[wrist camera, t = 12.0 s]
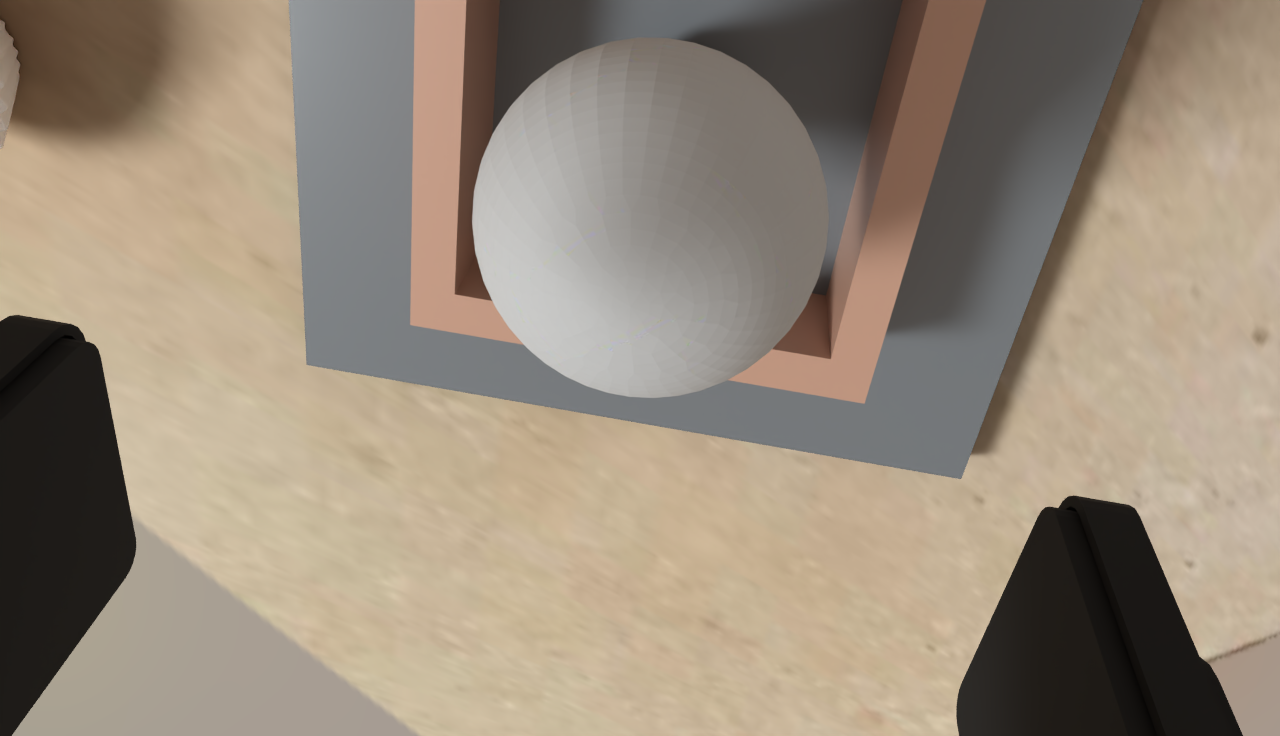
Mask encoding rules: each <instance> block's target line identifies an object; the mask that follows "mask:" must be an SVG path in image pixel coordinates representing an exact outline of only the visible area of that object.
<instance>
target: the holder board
mask: <svg viewBox="0 0 1280 736" xmlns="http://www.w3.org/2000/svg"><path fill="white" fill-rule="evenodd" d="M1142 2H1143V0H289V14H290V35H291V55H292V75H293V96H294V116H295V136H296V156H297V177H298V197H299V217H300V238H301V258H302V278H303V299H304V319H305V339H306V360H307V365H311V366H316V367H322V368H328V369H334V370H339V371H345V372H351V373H356V374H362V375H368V376H374V377H379V378H385V379H391V380H397V381H402V382H408V383H414V384H419V385H425V386H431V387H437V388H442V389H448V390H454V391H460V392H465V393H471V394H477V395H482V396H488V397H494V398H500V399H505V400H511V401H517V402H523V403H528V404H534V405H540V406H545V407H551V408H557V409H563V410H568V411H574V412H580V413H586V414H591V415H597V416H603V417H608V418H614V419H620V420H626V421H631V422H637V423H643V424H649V425H654V426H660V427H666V428H671V429H677V430H683V431H689V432H694V433H700V434H706V435H712V436H717V437H723V438H729V439H734V440H740V441H746V442H752V443H757V444H763V445H769V446H775V447H780V448H786V449H792V450H797V451H803V452H809V453H815V454H820V455H826V456H832V457H838V458H843V459H849V460H855V461H860V462H866V463H872V464H878V465H883V466H889V467H895V468H901V469H906V470H912V471H918V472H923V473H929V474H935V475H941V476H946V477H952V478H958V479H961V478H962V475H963V473H964V470H965V467H966V465H967V462H968V460H969V457H970V454H971V452H972V449H973V446H974V444H975V441H976V439H977V436H978V433H979V431H980V428H981V425H982V423H983V420H984V417H985V415H986V412H987V410H988V407H989V404H990V402H991V399H992V396H993V394H994V391H995V389H996V386H997V383H998V381H999V378H1000V375H1001V373H1002V370H1003V368H1004V365H1005V362H1006V360H1007V357H1008V354H1009V352H1010V349H1011V347H1012V344H1013V341H1014V339H1015V336H1016V333H1017V331H1018V328H1019V326H1020V323H1021V320H1022V318H1023V315H1024V312H1025V310H1026V307H1027V305H1028V302H1029V299H1030V297H1031V294H1032V291H1033V289H1034V286H1035V283H1036V281H1037V278H1038V276H1039V273H1040V270H1041V268H1042V265H1043V262H1044V260H1045V257H1046V255H1047V252H1048V249H1049V247H1050V244H1051V241H1052V239H1053V236H1054V234H1055V231H1056V228H1057V226H1058V223H1059V220H1060V218H1061V215H1062V213H1063V210H1064V207H1065V205H1066V202H1067V199H1068V197H1069V194H1070V192H1071V189H1072V186H1073V184H1074V181H1075V178H1076V176H1077V173H1078V171H1079V168H1080V165H1081V163H1082V160H1083V157H1084V155H1085V152H1086V149H1087V147H1088V144H1089V142H1090V139H1091V136H1092V134H1093V131H1094V128H1095V126H1096V123H1097V121H1098V118H1099V115H1100V113H1101V110H1102V107H1103V105H1104V102H1105V100H1106V97H1107V94H1108V92H1109V89H1110V86H1111V84H1112V81H1113V79H1114V76H1115V73H1116V71H1117V68H1118V65H1119V63H1120V60H1121V58H1122V55H1123V52H1124V50H1125V47H1126V44H1127V42H1128V39H1129V37H1130V34H1131V31H1132V29H1133V26H1134V23H1135V21H1136V18H1137V15H1138V13H1139V10H1140V8H1141V5H1142ZM633 38H670V39H676V40H681V41H687V42H693V43H697V44H700V45H703V46H705V47H708V48H711V49H714V50H717V51H720V52H722V53H724V54H726V55H728V56H730V57H732V58H734V59H736V60H737V61H739V62H741V63H743V64H745V65H747V66H748V67H749V68H751V69H752V70H753V71H755V72H756V73H757V74H759V75H760V76H761V77H762V78H764V79H765V80H766V81H768V82H769V83H770V84H771V85H772V86H773V87H774V88H775V90H776V91H777V92H778V93H779V94H780V95H781V96H782V97H783V98H784V99H785V100H786V101H787V102H788V103H789V104H790V106H791V107H792V109H793V110H794V112H795V113H796V115H797V116H798V118H799V119H800V121H801V122H802V124H803V125H804V126H805V128H806V130H807V133H808V135H809V137H810V139H811V141H812V143H813V146H814V148H815V150H816V152H817V154H818V157H819V161H820V165H821V168H822V172H823V176H824V180H825V184H826V190H827V201H828V212H829V222H828V234H827V245H826V251H825V255H824V259H823V263H822V266H821V270H820V274H819V277H818V280H817V283H816V285H815V287H814V289H813V291H812V294H811V296H810V298H809V300H808V302H807V305H806V306H805V308H804V310H803V311H802V313H801V314H800V316H799V317H798V318H797V320H796V321H795V323H794V324H793V326H792V327H791V329H790V330H789V331H788V332H787V334H786V335H785V336H784V337H783V338H782V339H781V340H780V341H779V342H778V343H777V344H776V345H775V346H774V347H773V349H772V350H771V351H770V352H769V353H767V354H766V355H765V356H763V357H762V358H761V359H760V360H758V361H757V362H756V363H754V364H753V365H752V366H750V367H749V368H748V369H746V370H745V371H743V372H741V373H739V374H737V375H736V376H734V377H732V378H730V379H728V380H727V381H725V382H722V383H719V384H717V385H714V386H712V387H709V388H706V389H704V390H701V391H697V392H693V393H688V394H684V395H680V396H671V397H660V398H643V397H628V396H622V395H617V394H611V393H607V392H603V391H600V390H597V389H594V388H591V387H587V386H585V385H583V384H581V383H579V382H576V381H574V380H572V379H570V378H568V377H566V376H564V375H562V374H561V373H559V372H558V371H556V370H555V369H553V368H551V367H550V366H548V365H547V364H545V363H544V362H543V361H542V360H540V359H539V358H538V357H537V356H536V355H534V354H533V353H532V352H531V351H530V350H529V349H527V348H526V346H525V345H524V344H523V343H522V342H521V341H520V340H519V339H518V337H517V336H516V335H515V334H514V333H513V332H512V331H511V330H510V328H509V327H508V326H507V324H506V323H505V321H504V320H503V318H502V316H501V315H500V313H499V312H498V310H497V309H496V307H495V305H494V303H493V301H492V299H491V297H490V295H489V292H488V290H487V288H486V286H485V284H484V282H483V278H482V274H481V271H480V267H479V264H478V260H477V257H476V253H475V245H474V236H473V226H472V215H473V198H474V189H475V185H476V181H477V176H478V172H479V168H480V164H481V160H482V158H483V155H484V153H485V151H486V148H487V146H488V144H489V141H490V139H491V137H492V134H493V133H494V131H495V129H496V127H497V126H498V124H499V123H500V121H501V120H502V118H503V117H504V115H505V114H506V112H507V111H508V109H509V107H510V106H511V105H512V104H513V103H514V102H515V101H516V99H517V98H518V97H519V96H520V95H521V94H522V93H523V92H524V91H525V90H526V89H527V88H528V87H529V86H530V85H531V83H533V82H534V81H535V80H537V79H538V78H539V77H541V76H542V75H543V74H545V73H546V72H547V71H549V70H550V69H551V68H553V67H554V66H555V65H556V64H558V63H560V62H562V61H564V60H566V59H568V58H570V57H572V56H574V55H576V54H578V53H579V52H581V51H584V50H587V49H590V48H593V47H596V46H599V45H602V44H605V43H609V42H613V41H619V40H626V39H633Z"/></svg>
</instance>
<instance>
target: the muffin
mask: <svg viewBox="0 0 1280 736" xmlns="http://www.w3.org/2000/svg"><path fill="white" fill-rule="evenodd" d="M13 40H14V39H13V37H12V36H10V35H9V34H8V33H7V31H6V29H5V22H3V21H2V20H0V149H1V148H2V147H3V146H4V141H5V136H6V132H7V129H8V126H9V123H10V117H11V114H12V109H13V105H14V101H15V96H16V91H17V87H18V83H19V78H20V76H19V73H18V71H19V68H20V63H19V61H18V60H17V59H16V57H17V54H18V50H16V49H15V48H14V46H13Z"/></svg>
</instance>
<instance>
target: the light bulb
mask: <svg viewBox="0 0 1280 736" xmlns="http://www.w3.org/2000/svg"><path fill="white" fill-rule="evenodd" d="M828 222H829V212H828V201H827V190H826V184H825V180H824V176H823V172H822V168H821V165H820V161H819V157H818V154H817V152H816V150H815V148H814V146H813V143H812V141H811V139H810V137H809V135H808V133H807V130H806V128H805V126H804V125H803V124H802V122H801V121H800V119H799V118H798V116H797V115H796V113H795V112H794V110H793V109H792V107H791V106H790V104H789V103H788V102H787V101H786V100H785V99H784V98H783V97H782V96H781V95H780V94H779V93H778V92H777V91H776V90H775V88H774V87H773V86H772V85H771V84H770V83H769V82H768V81H766V80H765V79H764V78H762V77H761V76H760V75H759V74H757V73H756V72H755V71H753V70H752V69H751V68H749V67H748V66H747V65H745V64H743V63H741V62H739V61H737V60H736V59H734V58H732V57H730V56H728V55H726V54H724V53H722V52H720V51H717V50H714V49H711V48H708V47H705V46H703V45H700V44H697V43H693V42H687V41H681V40H676V39H670V38H633V39H626V40H619V41H613V42H609V43H605V44H602V45H599V46H596V47H593V48H590V49H587V50H584V51H581V52H579V53H578V54H576V55H574V56H572V57H570V58H568V59H566V60H564V61H562V62H560V63H558V64H556V65H555V66H554V67H553V68H551V69H550V70H549V71H547V72H546V73H545V74H543V75H542V76H541V77H539V78H538V79H537V80H535V81H534V82H533V83H531V85H530V86H529V87H528V88H527V89H526V90H525V91H524V92H523V93H522V94H521V95H520V96H519V97H518V98H517V99H516V101H515V102H514V103H513V104H512V105H511V106H510V107H509V109H508V111H507V112H506V114H505V115H504V117H503V118H502V120H501V121H500V123H499V124H498V126H497V127H496V129H495V131H494V133H493V134H492V137H491V139H490V141H489V144H488V146H487V148H486V151H485V153H484V155H483V158H482V160H481V164H480V168H479V172H478V176H477V181H476V185H475V189H474V198H473V215H472V226H473V236H474V245H475V253H476V257H477V260H478V264H479V267H480V271H481V274H482V278H483V282H484V284H485V286H486V288H487V290H488V292H489V295H490V297H491V299H492V301H493V303H494V305H495V307H496V309H497V310H498V312H499V313H500V315H501V316H502V318H503V320H504V321H505V323H506V324H507V326H508V327H509V328H510V330H511V331H512V332H513V333H514V334H515V335H516V336H517V337H518V339H519V340H520V341H521V342H522V343H523V344H524V345H525V346H526V348H527V349H529V350H530V351H531V352H532V353H533V354H534V355H536V356H537V357H538V358H539V359H540V360H542V361H543V362H544V363H545V364H547V365H548V366H550V367H551V368H553V369H555V370H556V371H558V372H559V373H561V374H562V375H564V376H566V377H568V378H570V379H572V380H574V381H576V382H579V383H581V384H583V385H585V386H587V387H591V388H594V389H597V390H600V391H603V392H607V393H611V394H617V395H622V396H628V397H643V398H660V397H671V396H680V395H684V394H688V393H693V392H697V391H701V390H704V389H706V388H709V387H712V386H714V385H717V384H719V383H722V382H725V381H727V380H728V379H730V378H732V377H734V376H736V375H737V374H739V373H741V372H743V371H745V370H746V369H748V368H749V367H750V366H752V365H753V364H754V363H756V362H757V361H758V360H760V359H761V358H762V357H763V356H765V355H766V354H767V353H769V352H770V351H771V350H772V349H773V347H774V346H775V345H776V344H777V343H778V342H779V341H780V340H781V339H782V338H783V337H784V336H785V335H786V334H787V332H788V331H789V330H790V329H791V327H792V326H793V324H794V323H795V321H796V320H797V318H798V317H799V316H800V314H801V313H802V311H803V310H804V308H805V306H806V305H807V302H808V300H809V298H810V296H811V294H812V291H813V289H814V287H815V285H816V283H817V280H818V277H819V274H820V270H821V266H822V263H823V259H824V255H825V251H826V245H827V234H828Z"/></svg>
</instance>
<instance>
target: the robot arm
mask: <svg viewBox="0 0 1280 736" xmlns="http://www.w3.org/2000/svg"><path fill="white" fill-rule="evenodd" d="M135 552H136V537H135V532H134V528H133V522H132V516H131V511H130V506H129V501H128V496H127V491H126V486H125V480H124V475H123V470H122V465H121V460H120V455H119V450H118V444H117V439H116V434H115V429H114V424H113V419H112V414H111V408H110V403H109V398H108V393H107V388H106V383H105V377H104V372H103V367H102V362H101V357H100V354H99V351H98V349H97V347H96V346H95V345H94V344H92V343H90V342H86V341H85V338H84V335H83V333H82V332H81V331H80V329H79V328H78V327H76V326H74V325H72V324H67V323H61V322H56V321H50V320H44V319H38V318H32V317H26V316H20V315H14V316H9V317H7V318H5V319H3V320H2V321H0V736H12V734H13V733H14V731H15V730H16V729H17V727H18V726H19V724H20V723H21V722H22V720H23V719H24V718H25V716H26V715H27V713H28V712H29V711H30V709H31V708H32V707H33V705H34V704H35V702H36V701H37V700H38V698H39V697H40V695H41V694H42V693H43V691H44V690H45V689H46V687H47V686H48V684H49V683H50V682H51V680H52V679H53V677H54V676H55V675H56V673H57V672H58V671H59V669H60V668H61V666H62V665H63V664H64V662H65V661H66V660H67V658H68V657H69V655H70V654H71V653H72V651H73V650H74V648H75V647H76V645H77V644H78V643H79V641H80V640H81V638H82V637H83V636H84V635H85V633H86V632H87V630H88V629H89V628H90V626H91V625H92V623H93V622H94V621H95V619H96V618H97V616H98V615H99V614H100V612H101V611H102V610H103V608H104V607H105V606H106V604H107V603H108V601H109V600H110V599H111V597H112V596H113V594H114V593H115V592H116V590H117V589H118V587H119V586H120V585H121V583H122V582H123V581H124V579H125V578H126V576H127V574H128V573H129V571H130V569H131V566H132V564H133V561H134V557H135ZM957 725H958V731H959V736H1243V735H1242V732H1241V730H1240V728H1239V726H1238V723H1237V721H1236V719H1235V716H1234V714H1233V712H1232V710H1231V707H1230V705H1229V703H1228V700H1227V698H1226V696H1225V693H1224V691H1223V689H1222V686H1221V684H1220V682H1219V680H1218V678H1217V676H1216V675H1215V673H1214V671H1213V670H1212V668H1211V666H1210V665H1209V664H1208V663H1207V662H1206V661H1204V660H1203V659H1202V658H1201V657H1199V655H1198V652H1197V650H1196V648H1195V645H1194V643H1193V641H1192V638H1191V636H1190V634H1189V631H1188V629H1187V626H1186V624H1185V622H1184V619H1183V617H1182V615H1181V612H1180V610H1179V608H1178V605H1177V603H1176V601H1175V598H1174V596H1173V594H1172V591H1171V589H1170V586H1169V584H1168V582H1167V579H1166V577H1165V575H1164V572H1163V570H1162V568H1161V565H1160V563H1159V561H1158V558H1157V556H1156V554H1155V551H1154V549H1153V546H1152V544H1151V542H1150V539H1149V537H1148V535H1147V532H1146V530H1145V528H1144V525H1143V523H1142V521H1141V518H1140V516H1139V514H1138V513H1137V511H1136V510H1135V508H1133V507H1131V506H1130V505H1126V504H1120V503H1114V502H1108V501H1102V500H1096V499H1091V498H1085V497H1079V496H1069V497H1067V498H1066V499H1065V500H1064V501H1063V502H1062V503H1061V505H1060V506H1059V508H1054V507H1045V508H1044V509H1043V510H1042V511H1041V513H1040V514H1039V516H1038V518H1037V520H1036V522H1035V525H1034V527H1033V529H1032V531H1031V533H1030V535H1029V538H1028V540H1027V542H1026V544H1025V546H1024V549H1023V551H1022V553H1021V555H1020V557H1019V559H1018V562H1017V564H1016V566H1015V568H1014V570H1013V572H1012V575H1011V577H1010V579H1009V581H1008V583H1007V586H1006V588H1005V590H1004V592H1003V594H1002V596H1001V599H1000V601H999V603H998V605H997V607H996V610H995V612H994V614H993V616H992V618H991V620H990V623H989V625H988V627H987V629H986V631H985V633H984V636H983V638H982V640H981V642H980V644H979V647H978V649H977V651H976V653H975V655H974V657H973V660H972V662H971V664H970V666H969V668H968V671H967V673H966V675H965V677H964V679H963V681H962V684H961V687H960V689H959V694H958V699H957Z"/></svg>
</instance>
